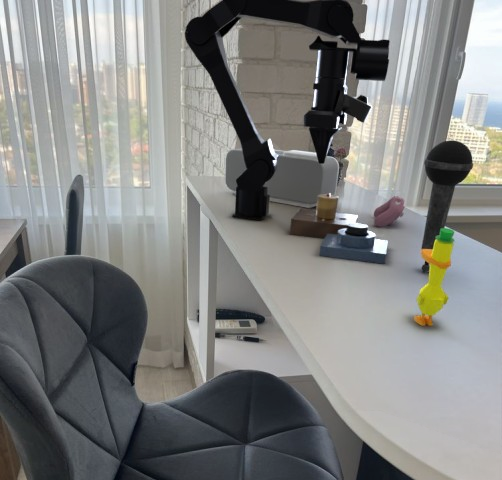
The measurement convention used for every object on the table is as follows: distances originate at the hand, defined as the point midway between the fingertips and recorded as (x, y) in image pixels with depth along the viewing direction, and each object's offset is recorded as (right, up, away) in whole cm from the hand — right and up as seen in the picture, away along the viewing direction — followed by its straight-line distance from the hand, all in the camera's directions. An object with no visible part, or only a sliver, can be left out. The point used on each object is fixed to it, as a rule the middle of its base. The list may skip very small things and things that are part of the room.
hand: (321, 163), depth 104 cm
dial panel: (0, -15, -2) cm, 15 cm away
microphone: (+14, -25, -22) cm, 36 cm away
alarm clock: (-7, -1, +25) cm, 27 cm away
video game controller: (+15, -11, +7) cm, 20 cm away
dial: (0, -12, -4) cm, 12 cm away
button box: (+4, -21, -14) cm, 25 cm away
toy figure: (+7, -34, -40) cm, 53 cm away
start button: (+4, -18, -16) cm, 24 cm away
